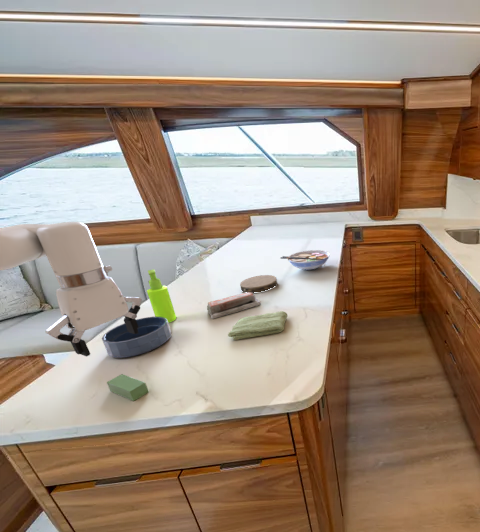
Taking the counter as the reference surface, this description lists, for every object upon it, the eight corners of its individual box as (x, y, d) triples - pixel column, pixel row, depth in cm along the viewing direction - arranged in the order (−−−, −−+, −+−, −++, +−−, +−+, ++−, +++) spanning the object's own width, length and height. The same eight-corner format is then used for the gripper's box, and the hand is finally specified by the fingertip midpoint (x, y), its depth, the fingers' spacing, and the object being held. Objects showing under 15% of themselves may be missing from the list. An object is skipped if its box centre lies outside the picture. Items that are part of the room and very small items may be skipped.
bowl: (128, 364, 88) (121, 347, 86) (97, 353, 94) (90, 337, 92) (183, 336, 102) (178, 320, 100) (153, 328, 108) (148, 313, 106)
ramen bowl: (339, 262, 175) (338, 249, 172) (321, 276, 154) (319, 261, 151) (301, 260, 181) (299, 248, 178) (278, 273, 160) (276, 259, 157)
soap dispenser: (174, 314, 118) (160, 266, 112) (177, 320, 113) (162, 271, 107) (156, 319, 114) (140, 270, 108) (158, 325, 110) (141, 275, 103)
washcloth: (238, 322, 110) (236, 315, 109) (288, 316, 114) (287, 309, 113) (227, 342, 98) (225, 333, 97) (284, 334, 102) (282, 326, 101)
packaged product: (209, 308, 111) (204, 300, 118) (212, 319, 113) (207, 311, 120) (259, 294, 122) (252, 287, 129) (261, 305, 124) (254, 297, 131)
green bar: (148, 392, 77) (145, 382, 76) (133, 401, 74) (129, 391, 73) (125, 383, 80) (121, 373, 79) (110, 391, 77) (106, 382, 76)
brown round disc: (260, 279, 153) (258, 273, 152) (284, 282, 147) (283, 277, 146) (233, 291, 139) (232, 285, 138) (259, 295, 133) (258, 289, 132)
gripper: (119, 264, 75) (141, 323, 81) (18, 291, 60) (53, 361, 66) (137, 266, 73) (158, 327, 78) (36, 295, 58) (71, 368, 63)
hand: (110, 343), depth 72 cm, fingers open, 9 cm apart
